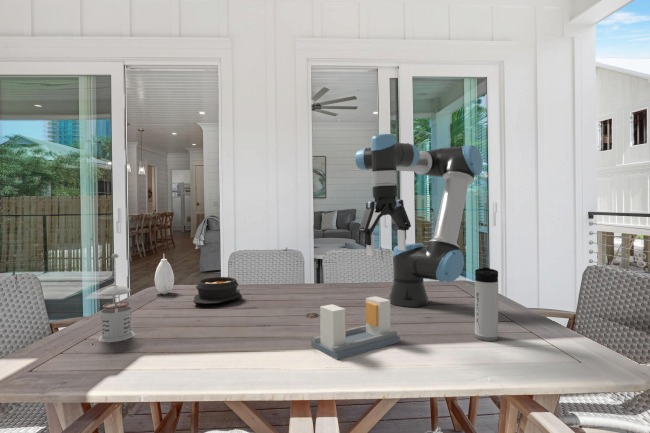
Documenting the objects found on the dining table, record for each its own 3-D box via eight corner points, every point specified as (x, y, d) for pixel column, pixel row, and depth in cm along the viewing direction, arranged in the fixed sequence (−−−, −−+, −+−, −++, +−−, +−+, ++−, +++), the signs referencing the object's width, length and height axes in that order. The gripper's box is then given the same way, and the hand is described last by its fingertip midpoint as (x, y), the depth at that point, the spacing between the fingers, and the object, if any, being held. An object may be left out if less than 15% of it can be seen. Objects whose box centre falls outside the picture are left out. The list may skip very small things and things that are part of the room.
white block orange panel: (390, 334, 114) (390, 300, 113) (377, 338, 111) (377, 302, 111) (376, 329, 119) (376, 296, 118) (364, 332, 116) (363, 298, 116)
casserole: (227, 309, 149) (226, 287, 149) (181, 307, 152) (180, 285, 152) (249, 294, 174) (249, 275, 174) (209, 293, 177) (209, 274, 176)
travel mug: (496, 334, 117) (497, 267, 117) (498, 342, 111) (499, 271, 110) (474, 332, 119) (474, 266, 119) (475, 340, 113) (475, 270, 112)
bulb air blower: (167, 290, 181) (166, 251, 181) (177, 293, 177) (176, 252, 176) (151, 294, 175) (150, 253, 174) (161, 296, 170) (160, 254, 170)
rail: (311, 346, 109) (311, 304, 109) (371, 330, 122) (371, 293, 122) (337, 359, 100) (336, 314, 99) (399, 341, 112) (399, 301, 112)
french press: (97, 344, 112) (94, 256, 112) (99, 332, 123) (96, 252, 122) (135, 338, 117) (133, 254, 116) (134, 327, 127) (132, 250, 126)
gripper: (403, 184, 133) (405, 247, 135) (345, 186, 119) (348, 256, 120) (420, 183, 127) (422, 249, 129) (362, 185, 113) (364, 259, 114)
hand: (386, 252), depth 124 cm, fingers open, 13 cm apart
